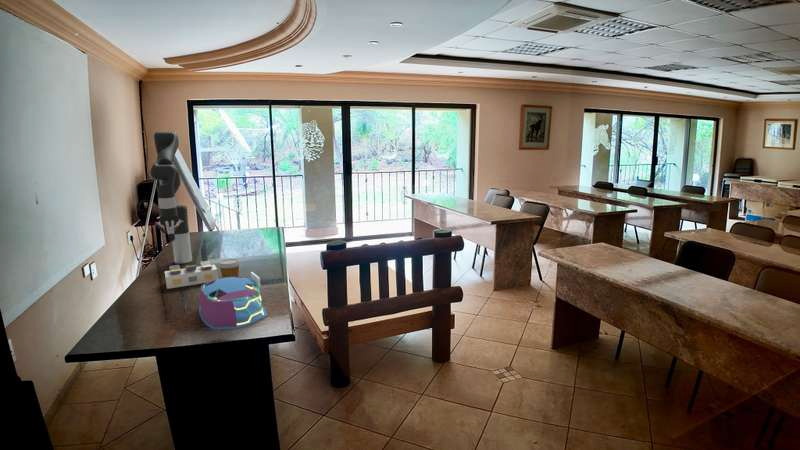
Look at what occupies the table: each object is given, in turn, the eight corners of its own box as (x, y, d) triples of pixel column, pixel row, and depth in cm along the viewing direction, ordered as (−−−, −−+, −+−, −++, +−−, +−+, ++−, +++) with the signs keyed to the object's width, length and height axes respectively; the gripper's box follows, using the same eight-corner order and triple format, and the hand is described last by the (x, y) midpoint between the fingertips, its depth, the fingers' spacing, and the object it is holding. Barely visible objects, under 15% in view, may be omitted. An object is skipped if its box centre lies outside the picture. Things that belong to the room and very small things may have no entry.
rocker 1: (169, 268, 216) (169, 265, 215) (179, 266, 218) (179, 264, 218) (170, 274, 209) (170, 271, 209) (181, 272, 211) (180, 270, 211)
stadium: (193, 305, 188) (189, 274, 185) (249, 294, 202) (247, 264, 199) (211, 335, 160) (207, 299, 157) (275, 319, 174) (273, 285, 171)
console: (166, 282, 217) (164, 269, 216) (215, 275, 228) (214, 262, 227) (167, 289, 208) (165, 275, 207) (218, 280, 220) (217, 267, 218)
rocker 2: (185, 268, 219) (185, 266, 219) (195, 267, 221) (194, 264, 221) (186, 269, 212) (186, 266, 212) (196, 268, 214) (196, 265, 214)
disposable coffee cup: (245, 282, 216) (243, 259, 214) (232, 289, 208) (230, 265, 205) (229, 280, 219) (227, 257, 217) (216, 287, 211) (214, 263, 208)
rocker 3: (200, 263, 223) (200, 261, 222) (209, 262, 225) (209, 260, 224) (202, 270, 216) (202, 267, 216) (212, 268, 218) (211, 266, 218)
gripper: (182, 203, 217) (186, 237, 221) (151, 206, 210) (156, 241, 214) (183, 206, 210) (187, 241, 214) (152, 209, 204) (156, 244, 208)
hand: (171, 241), depth 214 cm, fingers closed
